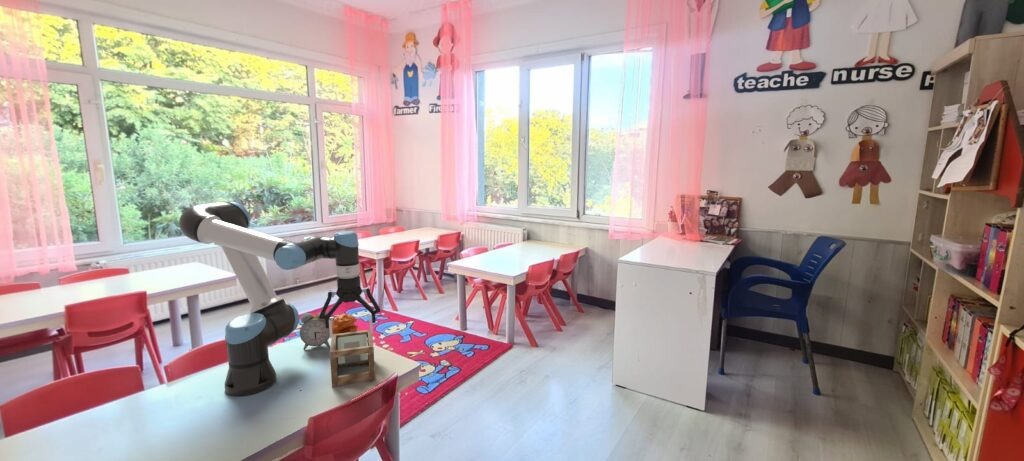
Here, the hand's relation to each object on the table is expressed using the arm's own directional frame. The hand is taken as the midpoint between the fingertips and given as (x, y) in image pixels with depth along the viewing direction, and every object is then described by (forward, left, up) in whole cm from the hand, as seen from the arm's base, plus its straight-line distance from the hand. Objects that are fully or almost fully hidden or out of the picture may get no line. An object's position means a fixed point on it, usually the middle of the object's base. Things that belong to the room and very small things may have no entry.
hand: (351, 333), depth 152 cm
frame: (0, +1, -15) cm, 15 cm away
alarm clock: (-14, +29, -15) cm, 35 cm away
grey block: (0, 0, -8) cm, 8 cm away
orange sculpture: (-3, +16, -15) cm, 22 cm away
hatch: (0, +3, -7) cm, 8 cm away
